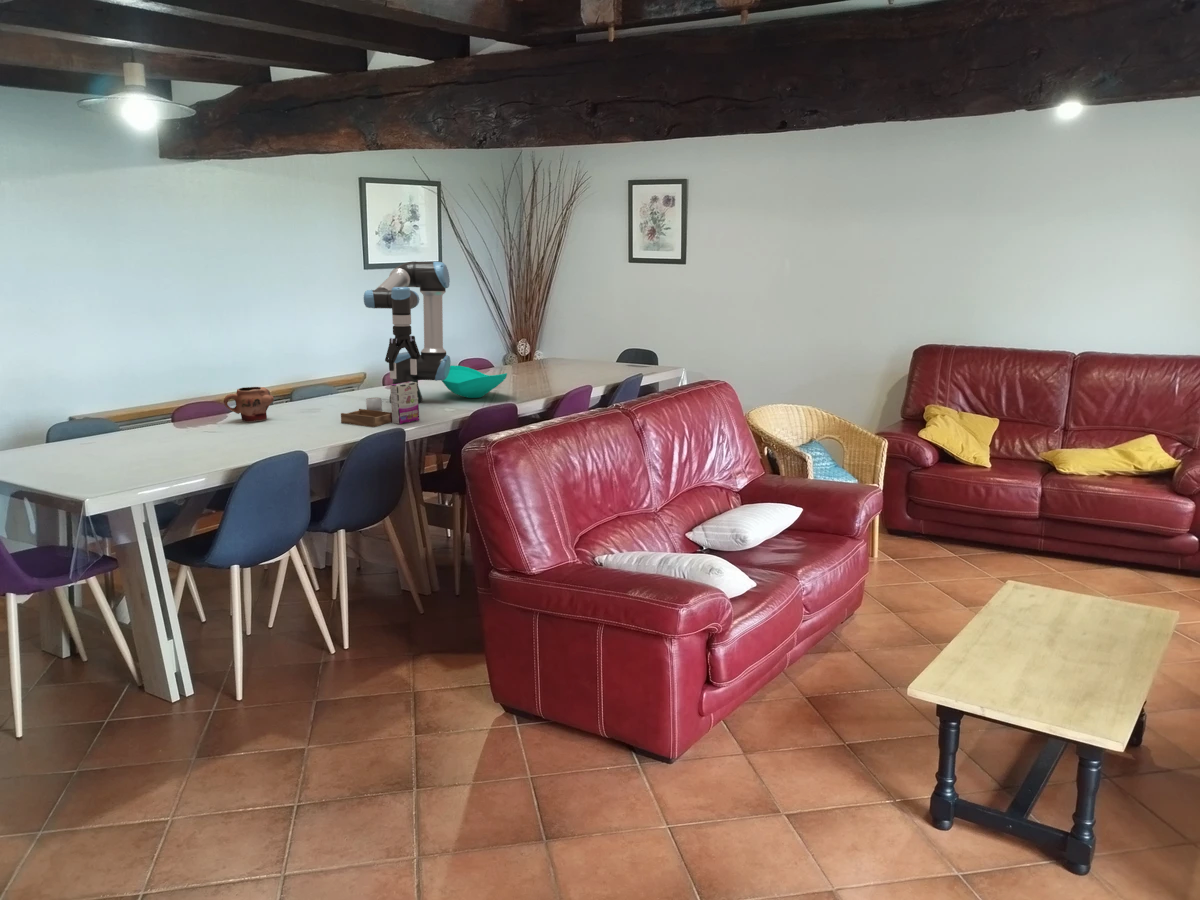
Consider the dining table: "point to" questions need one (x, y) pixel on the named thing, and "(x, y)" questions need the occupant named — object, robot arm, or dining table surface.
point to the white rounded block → (374, 404)
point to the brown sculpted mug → (251, 403)
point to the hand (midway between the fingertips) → (403, 376)
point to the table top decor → (471, 382)
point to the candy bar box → (404, 402)
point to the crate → (366, 418)
